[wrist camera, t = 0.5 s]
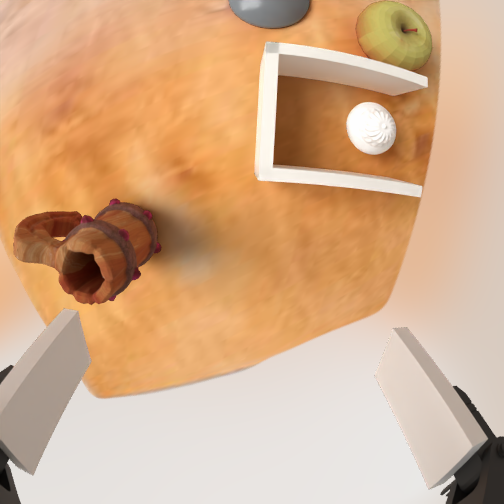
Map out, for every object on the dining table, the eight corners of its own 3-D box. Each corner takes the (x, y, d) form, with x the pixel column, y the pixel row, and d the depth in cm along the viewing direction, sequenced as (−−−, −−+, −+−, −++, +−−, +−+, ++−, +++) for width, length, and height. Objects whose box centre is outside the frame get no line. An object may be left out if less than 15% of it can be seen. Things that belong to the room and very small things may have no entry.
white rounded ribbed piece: (331, 145, 32) (353, 144, 26) (342, 98, 30) (365, 88, 24) (376, 160, 33) (404, 164, 26) (386, 116, 31) (415, 111, 24)
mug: (176, 212, 34) (134, 256, 20) (158, 269, 37) (117, 337, 23) (78, 175, 32) (1, 197, 18) (66, 231, 34) (-2, 274, 20)
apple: (419, 78, 29) (454, 68, 21) (358, 78, 29) (387, 63, 22) (400, 17, 25) (429, -2, 18) (338, 13, 26) (360, -14, 18)
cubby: (260, 64, 29) (266, 41, 21) (393, 87, 29) (427, 77, 22) (254, 173, 33) (258, 180, 26) (387, 186, 34) (421, 197, 26)
